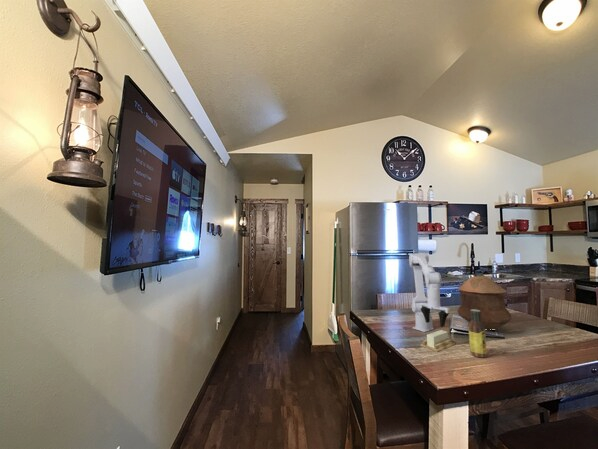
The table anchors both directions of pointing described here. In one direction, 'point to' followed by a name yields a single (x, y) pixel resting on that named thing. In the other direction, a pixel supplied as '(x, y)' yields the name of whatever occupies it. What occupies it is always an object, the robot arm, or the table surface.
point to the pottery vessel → (484, 302)
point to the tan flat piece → (439, 345)
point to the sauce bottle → (477, 335)
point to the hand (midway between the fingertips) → (434, 324)
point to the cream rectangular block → (436, 337)
